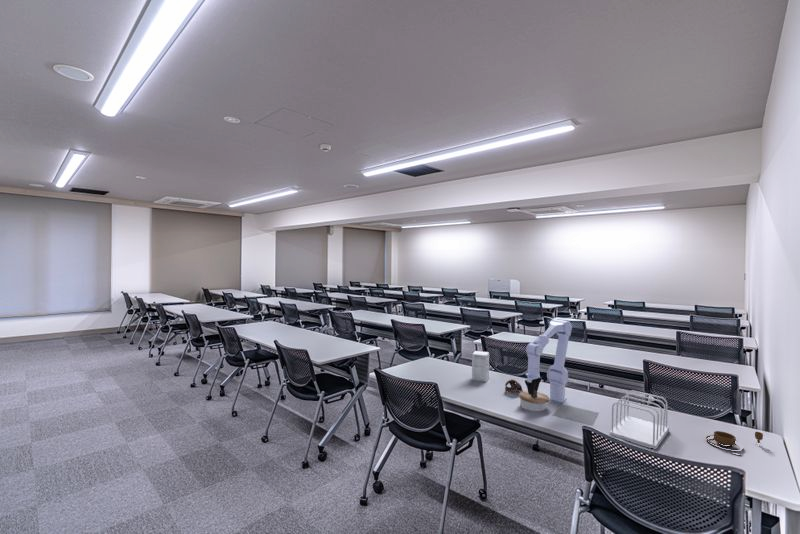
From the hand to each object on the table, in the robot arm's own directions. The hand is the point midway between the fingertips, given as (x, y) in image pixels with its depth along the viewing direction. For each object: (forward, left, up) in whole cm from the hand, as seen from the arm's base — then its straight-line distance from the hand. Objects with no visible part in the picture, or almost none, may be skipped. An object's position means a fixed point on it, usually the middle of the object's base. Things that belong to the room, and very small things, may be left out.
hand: (533, 392), depth 193 cm
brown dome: (-15, -16, -8) cm, 24 cm away
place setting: (-12, +80, -8) cm, 82 cm away
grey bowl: (0, 0, -8) cm, 8 cm away
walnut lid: (0, 0, -3) cm, 3 cm away
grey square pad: (-4, +20, -8) cm, 22 cm away
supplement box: (-25, -41, -8) cm, 49 cm away
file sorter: (-1, +47, -8) cm, 48 cm away
